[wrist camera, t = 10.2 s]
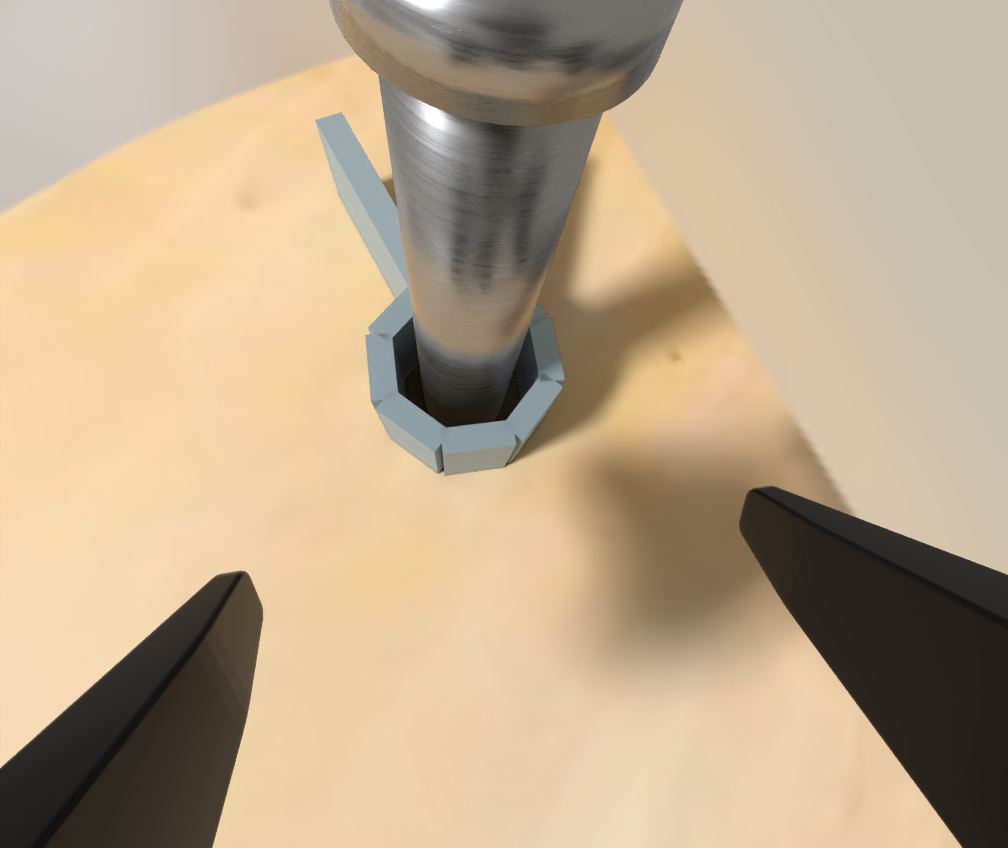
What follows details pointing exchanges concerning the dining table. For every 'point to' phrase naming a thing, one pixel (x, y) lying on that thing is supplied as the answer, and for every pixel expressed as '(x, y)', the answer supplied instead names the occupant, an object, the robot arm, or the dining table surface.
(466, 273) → the hinge pin
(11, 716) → the dining table surface
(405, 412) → the grey ring with prongs
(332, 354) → the dining table surface
